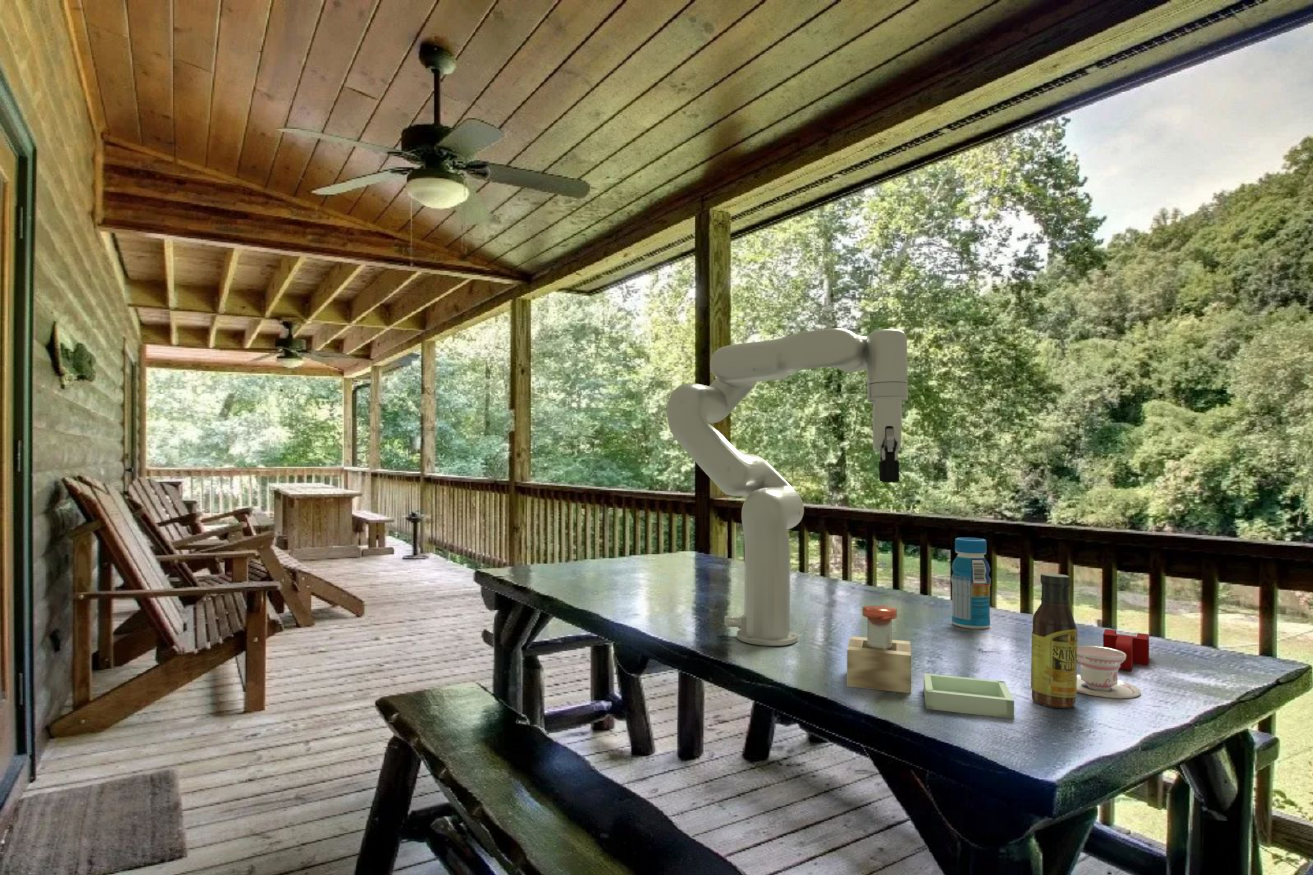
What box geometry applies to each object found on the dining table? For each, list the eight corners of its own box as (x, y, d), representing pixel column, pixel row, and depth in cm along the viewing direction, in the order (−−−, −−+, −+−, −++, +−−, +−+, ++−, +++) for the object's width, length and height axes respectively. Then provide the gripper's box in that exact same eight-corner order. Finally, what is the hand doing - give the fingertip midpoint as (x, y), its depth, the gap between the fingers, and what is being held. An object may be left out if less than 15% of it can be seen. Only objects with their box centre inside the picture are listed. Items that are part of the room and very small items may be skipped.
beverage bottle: (947, 626, 164) (947, 539, 165) (955, 620, 171) (955, 536, 172) (987, 631, 160) (986, 541, 160) (994, 625, 166) (993, 538, 167)
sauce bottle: (1057, 712, 107) (1057, 578, 108) (1021, 699, 113) (1021, 572, 113) (1087, 707, 110) (1086, 576, 110) (1050, 694, 115) (1049, 571, 116)
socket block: (847, 686, 118) (847, 649, 118) (850, 670, 128) (850, 636, 128) (911, 693, 115) (911, 655, 115) (910, 676, 124) (910, 641, 125)
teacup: (1118, 705, 111) (1118, 664, 112) (1042, 684, 122) (1042, 647, 122) (1154, 692, 118) (1154, 654, 118) (1079, 674, 128) (1079, 639, 128)
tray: (926, 708, 108) (926, 691, 108) (923, 689, 117) (923, 673, 117) (1014, 718, 104) (1014, 700, 104) (1004, 698, 113) (1004, 681, 113)
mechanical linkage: (1106, 651, 144) (1106, 626, 144) (1149, 657, 140) (1149, 632, 140) (1100, 669, 131) (1099, 642, 131) (1147, 676, 127) (1146, 648, 127)
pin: (861, 684, 120) (861, 610, 120) (862, 674, 125) (863, 604, 125) (896, 687, 118) (896, 613, 118) (896, 678, 123) (896, 607, 124)
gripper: (866, 398, 148) (867, 481, 148) (868, 389, 132) (869, 482, 131) (904, 397, 146) (906, 481, 146) (911, 388, 130) (912, 482, 129)
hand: (888, 481), depth 138 cm, fingers open, 9 cm apart
